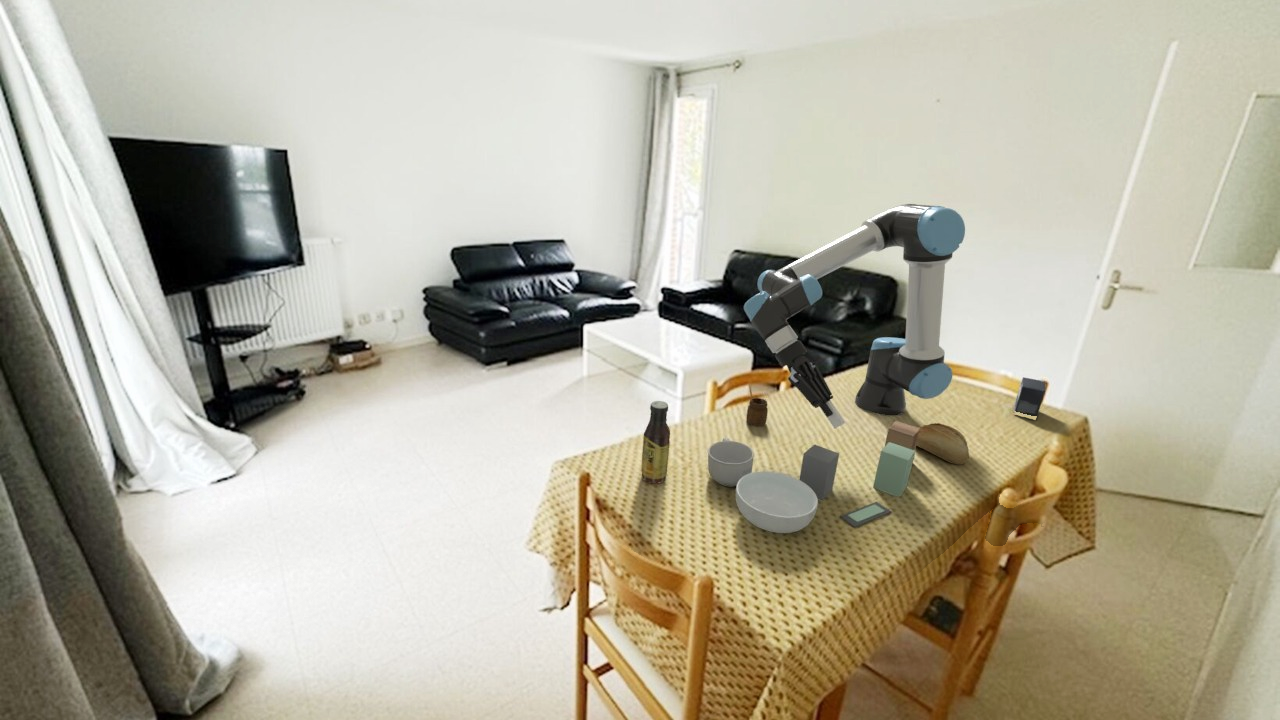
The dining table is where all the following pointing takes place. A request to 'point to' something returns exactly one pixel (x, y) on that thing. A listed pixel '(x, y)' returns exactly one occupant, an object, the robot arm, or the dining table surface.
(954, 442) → the bread roll
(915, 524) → the dining table surface
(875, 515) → the card
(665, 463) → the sauce bottle
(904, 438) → the walnut block
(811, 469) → the charcoal block
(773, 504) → the cereal bowl
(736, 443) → the teacup
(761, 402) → the utensil holder
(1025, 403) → the small box
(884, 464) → the sage block
